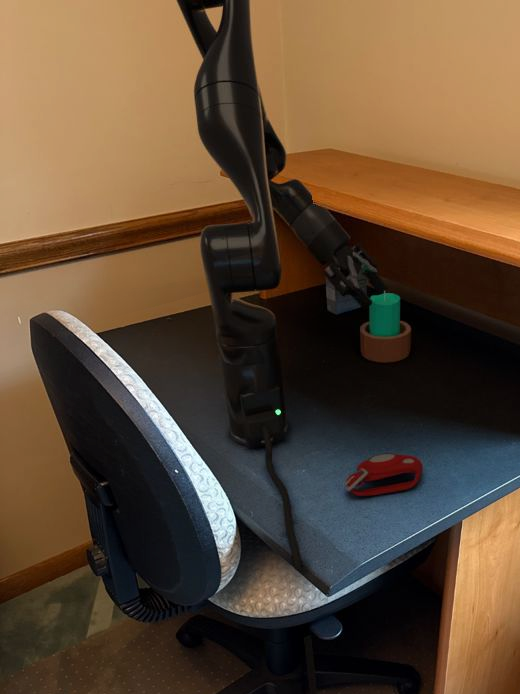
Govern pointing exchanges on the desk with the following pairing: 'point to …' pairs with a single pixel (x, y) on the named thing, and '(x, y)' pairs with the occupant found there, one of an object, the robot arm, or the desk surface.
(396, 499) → the desk surface
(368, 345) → the holder
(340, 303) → the tape cartridge
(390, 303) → the candle
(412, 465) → the tracker holder
